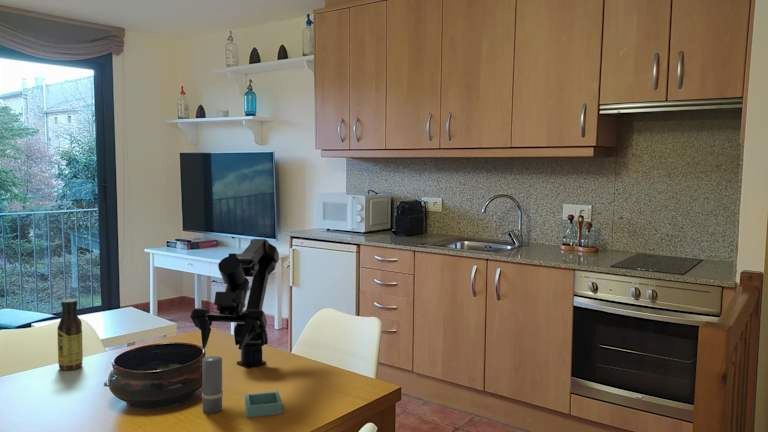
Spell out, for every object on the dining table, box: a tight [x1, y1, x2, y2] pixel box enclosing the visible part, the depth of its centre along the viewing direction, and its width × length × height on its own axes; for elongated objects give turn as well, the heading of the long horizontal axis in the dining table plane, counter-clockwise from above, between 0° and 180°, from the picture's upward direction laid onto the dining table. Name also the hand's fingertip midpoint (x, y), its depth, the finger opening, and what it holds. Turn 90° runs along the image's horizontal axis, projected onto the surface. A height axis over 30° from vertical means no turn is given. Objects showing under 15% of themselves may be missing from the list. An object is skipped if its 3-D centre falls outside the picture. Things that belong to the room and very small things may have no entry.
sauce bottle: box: [56, 298, 84, 371], centre depth 166 cm, size 6×6×20 cm
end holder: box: [244, 390, 283, 418], centre depth 140 cm, size 8×8×2 cm
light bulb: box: [201, 355, 224, 415], centre depth 138 cm, size 5×5×12 cm
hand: (221, 348), depth 144 cm, fingers open, 9 cm apart
